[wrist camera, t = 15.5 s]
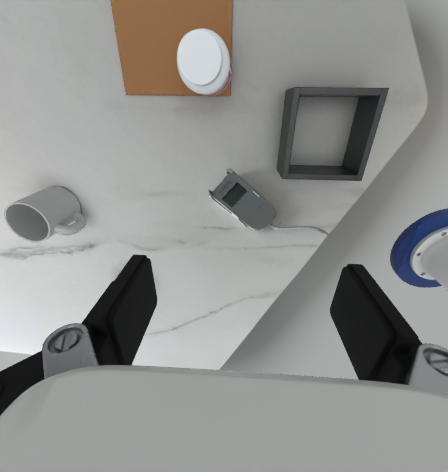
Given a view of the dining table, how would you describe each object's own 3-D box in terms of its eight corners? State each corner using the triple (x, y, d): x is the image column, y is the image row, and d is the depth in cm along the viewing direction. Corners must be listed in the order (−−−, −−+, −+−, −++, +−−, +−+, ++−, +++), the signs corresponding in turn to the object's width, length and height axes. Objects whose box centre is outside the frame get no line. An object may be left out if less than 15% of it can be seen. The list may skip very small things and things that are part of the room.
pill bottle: (192, 40, 32) (171, 12, 23) (235, 49, 32) (233, 25, 23) (187, 92, 35) (168, 87, 26) (228, 100, 35) (223, 98, 26)
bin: (366, 90, 34) (389, 88, 29) (345, 171, 40) (361, 180, 35) (286, 90, 35) (294, 87, 30) (276, 169, 40) (282, 178, 35)
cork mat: (232, -15, 30) (232, -16, 29) (230, 95, 36) (230, 95, 35) (109, -14, 30) (108, -15, 30) (127, 94, 36) (125, 94, 36)
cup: (47, 178, 44) (5, 194, 36) (99, 203, 45) (70, 223, 38) (42, 209, 47) (3, 230, 39) (91, 231, 49) (63, 255, 41)
